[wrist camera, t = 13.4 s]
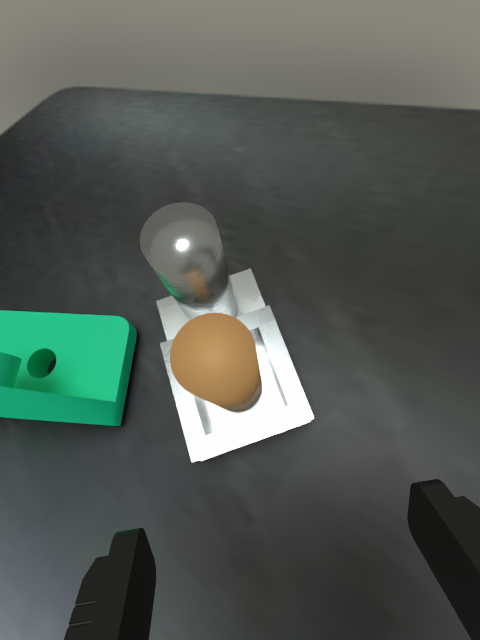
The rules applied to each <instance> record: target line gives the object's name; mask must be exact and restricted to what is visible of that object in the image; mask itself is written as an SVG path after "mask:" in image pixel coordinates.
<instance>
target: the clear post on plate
mask: <svg viewBox="0 0 480 640" xmlns="http://www.w3.org/2000/svg"><path fill="white" fill-rule="evenodd" d="M140 246H141V250H142V252H143V254H144V256H145V258H146V259H147V260H148V262H149V263H150V265H151V266H152V268H153V269H154V270H155V272H156V273H157V275H158V276H159V278H160V279H161V281H162V282H163V283H164V285H165V286H166V288H167V289H168V291H169V292H170V293H171V295H172V296H170V297H167V298H164V299H161V300H158V301H156V302H157V305H158V309H159V313H160V316H161V320H162V324H163V327H164V331H165V335H166V338H167V341H166V342H163V343H160V345H161V349H162V353H163V357H164V360H165V364H166V368H167V372H168V376H169V379H170V383H171V387H172V391H173V394H174V398H175V402H176V406H177V409H178V413H179V417H180V421H181V424H182V428H183V432H184V436H185V440H186V443H187V447H188V451H189V455H190V458H191V462H192V463H193V462H196V461H198V460H200V461H203V460H206V459H209V458H212V457H214V456H217V455H220V454H223V453H225V452H228V451H231V450H234V449H236V448H239V447H242V446H245V445H248V444H250V443H253V442H256V441H259V440H261V439H264V438H267V437H270V436H273V435H275V434H278V433H281V432H284V431H286V430H289V429H292V428H295V427H298V426H300V425H303V424H306V423H309V422H311V420H312V419H315V418H314V416H313V413H312V411H311V408H310V406H309V403H308V401H307V398H306V396H305V393H304V391H303V388H302V386H301V383H300V381H299V378H298V376H297V373H296V371H295V368H294V366H293V363H292V361H291V358H290V356H289V353H288V351H287V348H286V346H285V343H284V341H283V338H282V336H281V333H280V331H279V328H278V326H277V323H276V321H275V318H274V316H273V313H272V311H271V308H270V306H265V304H264V301H263V299H262V296H261V293H260V291H259V288H258V286H257V283H256V281H255V278H254V276H253V273H252V271H251V269H248V270H245V271H242V272H239V273H237V274H234V275H231V276H230V275H229V271H228V268H227V264H226V260H225V256H224V252H223V248H222V244H221V240H220V236H219V232H218V228H217V224H216V221H215V219H214V218H213V216H212V215H211V214H210V213H209V212H208V211H207V210H206V209H205V208H203V207H201V206H199V205H196V204H193V203H186V202H181V203H173V204H170V205H167V206H164V207H162V208H161V209H159V210H157V211H156V212H155V213H153V214H152V215H151V216H150V217H149V218H148V220H147V221H146V223H145V224H144V226H143V229H142V231H141V235H140ZM207 313H223V314H227V315H230V316H233V317H235V318H237V319H238V320H239V321H241V322H242V323H243V324H244V325H245V326H246V327H247V328H248V329H249V331H250V332H251V334H252V336H253V338H254V341H255V344H256V350H257V356H258V362H259V368H260V374H261V380H262V393H261V396H260V399H259V400H258V402H257V403H256V404H255V405H254V406H253V407H252V408H251V409H249V410H247V411H244V412H230V411H227V410H225V409H223V408H221V407H219V406H217V405H214V404H212V403H210V402H208V401H206V400H204V399H201V398H199V397H197V396H195V395H193V394H191V393H189V392H188V391H186V390H185V389H184V388H183V387H182V386H181V385H180V384H179V383H178V382H177V380H176V379H175V377H174V375H173V372H172V369H171V365H170V350H171V346H172V343H173V340H174V338H175V336H176V334H177V333H178V331H179V330H180V329H181V328H182V327H183V326H184V325H185V324H186V323H187V322H188V321H190V320H191V319H193V318H195V317H197V316H200V315H203V314H207Z"/></svg>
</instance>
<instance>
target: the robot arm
mask: <svg viewBox="0 0 480 640" xmlns="http://www.w3.org/2000/svg"><path fill="white" fill-rule="evenodd" d="M408 525H409V528H410V531H411V534H412V536H413V539H414V541H415V542H416V544H417V546H418V548H419V549H420V551H421V553H422V555H423V556H424V558H425V560H426V561H427V563H428V565H429V567H430V568H431V570H432V572H433V574H434V575H435V577H436V579H437V581H438V582H439V584H440V586H441V587H442V589H443V591H444V593H445V594H446V596H447V598H448V600H449V601H450V603H451V605H452V606H453V608H454V610H455V612H456V613H457V615H458V617H459V619H460V620H461V622H462V624H463V626H464V627H465V629H466V631H467V632H468V634H469V636H470V638H471V639H472V640H480V508H479V507H478V506H477V505H475V504H474V503H472V502H471V501H470V500H468V499H467V498H466V497H464V496H461V497H454V496H453V494H452V493H451V492H450V491H449V489H448V488H447V487H446V486H445V484H444V483H443V482H442V481H440V480H438V479H435V480H429V481H423V482H417V483H412V484H411V488H410V497H409V507H408ZM155 585H156V566H155V560H154V557H153V554H152V551H151V548H150V545H149V542H148V539H147V536H146V533H145V531H144V529H143V528H138V529H132V530H126V531H120V532H116V533H115V535H114V537H113V540H112V544H111V547H110V551H109V555H108V556H104V557H98V558H96V559H95V561H94V562H93V564H92V566H91V567H90V569H89V570H88V572H87V573H86V575H85V576H84V578H83V580H82V583H81V586H80V590H79V593H78V596H77V599H76V602H75V604H76V605H75V608H74V609H73V612H72V615H71V618H70V622H69V628H68V629H67V631H66V635H65V638H64V640H149V633H150V625H151V617H152V609H153V602H154V594H155Z"/></svg>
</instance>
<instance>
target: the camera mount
mask: <svg viewBox="0 0 480 640" xmlns="http://www.w3.org/2000/svg"><path fill="white" fill-rule="evenodd" d="M136 338H137V331H136V329H135V327H134V326H133V325H132V324H130V323H129V322H128V321H127V320H125V319H124V318H123V317H120V316H104V315H83V314H63V313H43V312H22V311H2V310H0V417H5V418H18V419H31V420H44V421H57V422H70V423H84V424H97V425H110V426H121V421H122V415H123V410H124V404H125V399H126V393H127V388H128V382H129V377H130V371H131V366H132V360H133V355H134V349H135V344H136ZM54 359H56V365H55V368H54V370H53V371H52V372H51V373H50V374H49V375H48V368H49V366H50V364H51V362H52V361H53V360H54Z"/></svg>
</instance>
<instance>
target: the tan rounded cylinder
mask: <svg viewBox="0 0 480 640" xmlns="http://www.w3.org/2000/svg"><path fill="white" fill-rule="evenodd" d="M170 365H171V369H172V372H173V375H174V377H175V379H176V380H177V382H178V383H179V384H180V385H181V386H182V387H183V388H184V389H185V390H186V391H188V392H189V393H191V394H193V395H195V396H197V397H199V398H201V399H204V400H206V401H208V402H210V403H212V404H214V405H217V406H219V407H221V408H223V409H225V410H227V411H230V412H244V411H247V410H249V409H251V408H252V407H253V406H254V405H255V404H256V403H257V402H258V400H259V399H260V396H261V393H262V380H261V374H260V368H259V362H258V356H257V350H256V344H255V341H254V338H253V336H252V334H251V332H250V331H249V329H248V328H247V327H246V326H245V325H244V324H243V323H242V322H241V321H239V320H238V319H237V318H235V317H233V316H230V315H227V314H223V313H207V314H203V315H200V316H197V317H195V318H193V319H191V320H190V321H188V322H187V323H186V324H185V325H184V326H183V327H182V328H181V329H180V330H179V331H178V333H177V334H176V336H175V338H174V340H173V343H172V346H171V350H170Z"/></svg>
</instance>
